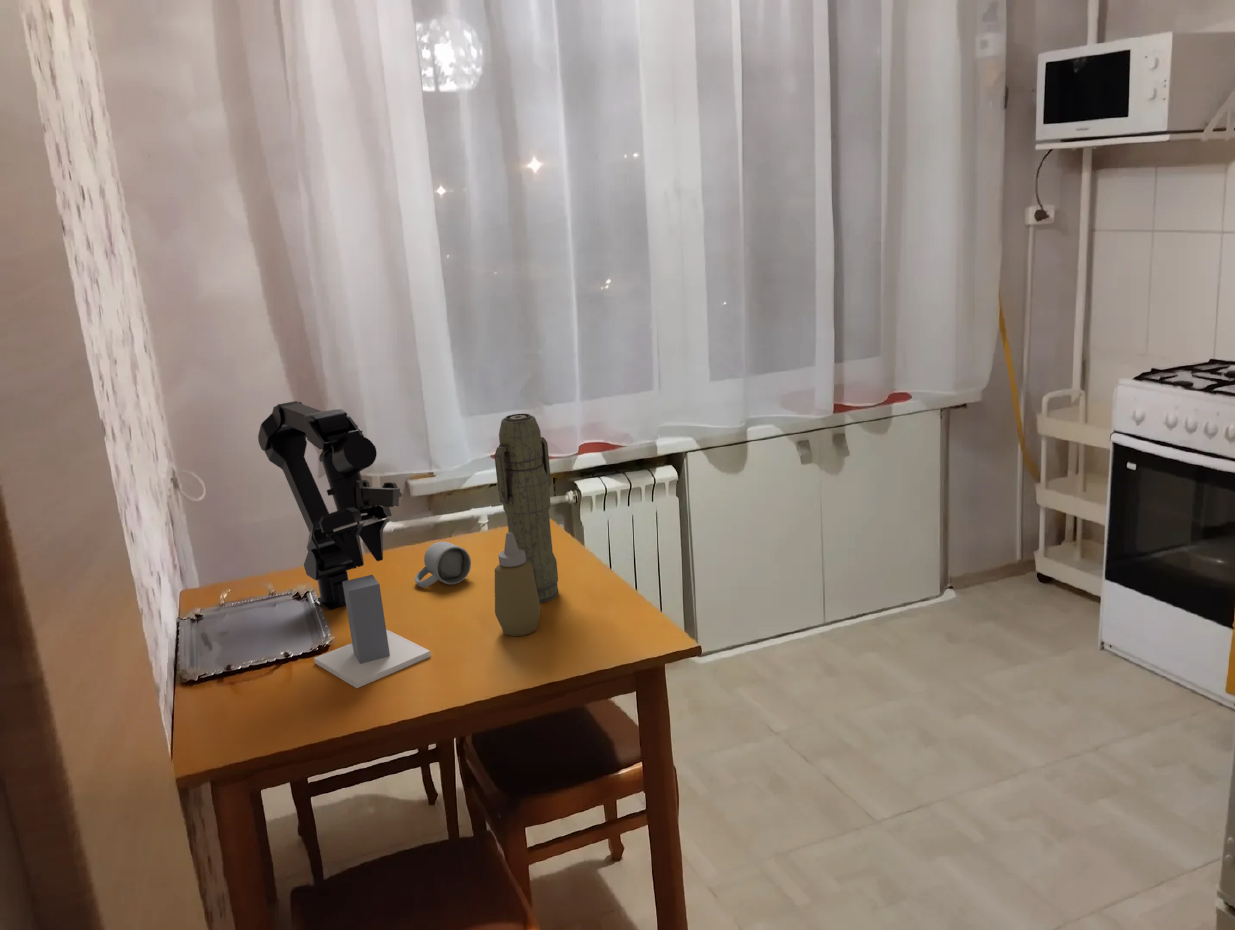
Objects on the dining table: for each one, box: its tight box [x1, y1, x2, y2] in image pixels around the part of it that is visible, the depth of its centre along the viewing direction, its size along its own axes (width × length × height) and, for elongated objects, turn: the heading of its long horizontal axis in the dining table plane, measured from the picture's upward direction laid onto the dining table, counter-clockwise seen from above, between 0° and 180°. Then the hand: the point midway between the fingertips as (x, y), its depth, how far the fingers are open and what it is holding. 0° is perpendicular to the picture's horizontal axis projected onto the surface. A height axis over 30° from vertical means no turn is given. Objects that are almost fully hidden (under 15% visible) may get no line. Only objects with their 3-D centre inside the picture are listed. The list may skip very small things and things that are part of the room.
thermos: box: [494, 413, 559, 604], centre depth 183 cm, size 9×12×35 cm
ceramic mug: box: [414, 541, 472, 589], centre depth 198 cm, size 11×8×8 cm
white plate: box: [313, 628, 432, 689], centre depth 166 cm, size 14×14×1 cm
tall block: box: [343, 574, 390, 664], centre depth 164 cm, size 5×5×13 cm
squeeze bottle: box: [494, 532, 542, 637], centre depth 171 cm, size 8×8×18 cm
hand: (370, 563), depth 174 cm, fingers open, 9 cm apart
